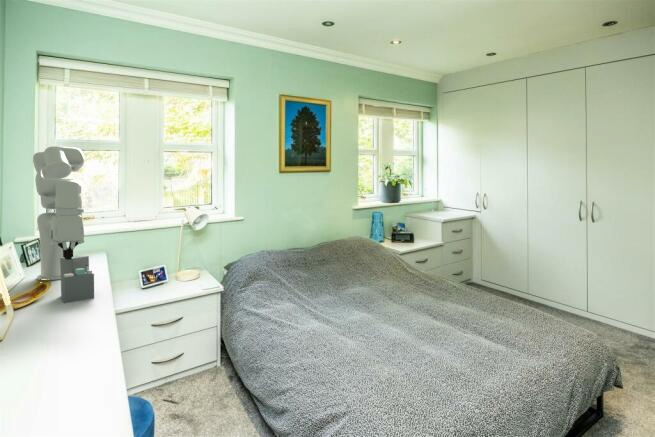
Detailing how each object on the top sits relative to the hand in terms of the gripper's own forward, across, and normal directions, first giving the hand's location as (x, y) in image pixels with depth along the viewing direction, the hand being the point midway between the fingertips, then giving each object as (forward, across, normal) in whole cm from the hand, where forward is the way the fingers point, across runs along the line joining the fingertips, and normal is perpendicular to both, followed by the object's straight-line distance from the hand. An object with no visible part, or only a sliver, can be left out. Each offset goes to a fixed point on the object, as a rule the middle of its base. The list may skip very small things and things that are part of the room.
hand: (68, 259), depth 144 cm
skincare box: (+17, -4, -8) cm, 19 cm away
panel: (+17, -3, +1) cm, 17 cm away
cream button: (+9, 0, +1) cm, 9 cm away
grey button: (+7, -7, +2) cm, 10 cm away
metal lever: (+7, -7, 0) cm, 9 cm away
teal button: (+8, -4, +1) cm, 8 cm away
